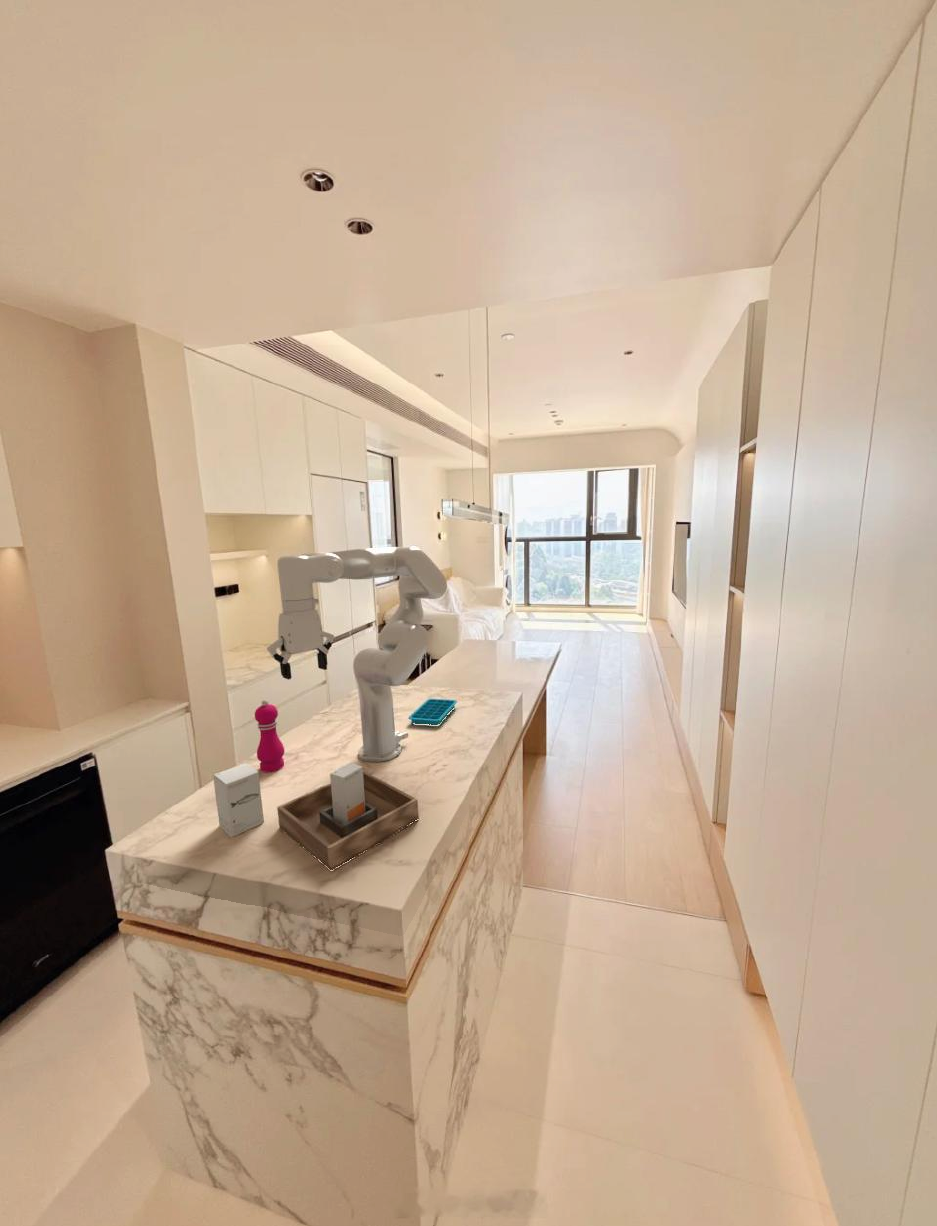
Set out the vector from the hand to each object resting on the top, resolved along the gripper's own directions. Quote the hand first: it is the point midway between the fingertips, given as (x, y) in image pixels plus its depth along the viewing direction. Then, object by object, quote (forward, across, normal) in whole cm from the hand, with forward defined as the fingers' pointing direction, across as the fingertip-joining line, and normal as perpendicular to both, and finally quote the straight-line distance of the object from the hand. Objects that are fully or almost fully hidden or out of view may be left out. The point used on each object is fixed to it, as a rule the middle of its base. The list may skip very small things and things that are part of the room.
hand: (305, 673), depth 119 cm
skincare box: (+30, +4, +22) cm, 37 cm away
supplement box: (+30, +20, +2) cm, 36 cm away
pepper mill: (+30, +3, -19) cm, 36 cm away
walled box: (+30, +4, +22) cm, 37 cm away
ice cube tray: (+31, -52, -11) cm, 61 cm away
